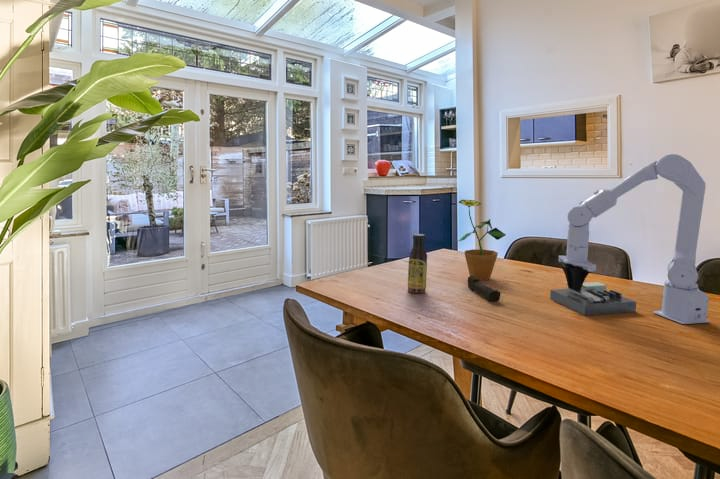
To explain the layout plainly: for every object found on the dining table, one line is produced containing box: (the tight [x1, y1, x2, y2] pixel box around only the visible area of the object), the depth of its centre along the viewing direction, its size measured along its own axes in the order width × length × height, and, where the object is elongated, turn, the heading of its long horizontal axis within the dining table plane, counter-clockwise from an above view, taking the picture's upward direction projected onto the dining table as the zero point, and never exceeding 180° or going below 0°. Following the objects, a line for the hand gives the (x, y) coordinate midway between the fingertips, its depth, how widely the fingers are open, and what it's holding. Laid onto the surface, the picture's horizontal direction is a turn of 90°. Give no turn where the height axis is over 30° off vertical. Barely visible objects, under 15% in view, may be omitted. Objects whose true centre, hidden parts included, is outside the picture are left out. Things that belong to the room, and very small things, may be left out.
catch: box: [582, 281, 607, 292], centre depth 129 cm, size 4×7×2 cm, turn 99°
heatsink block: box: [549, 288, 637, 316], centre depth 124 cm, size 16×16×4 cm
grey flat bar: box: [565, 286, 604, 302], centre depth 123 cm, size 12×3×1 cm, turn 9°
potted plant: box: [457, 199, 507, 281], centre depth 156 cm, size 18×19×30 cm
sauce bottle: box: [407, 233, 428, 294], centre depth 140 cm, size 7×6×20 cm
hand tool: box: [466, 275, 501, 303], centre depth 138 cm, size 19×4×5 cm, turn 8°
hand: (574, 289), depth 127 cm, fingers closed on grey flat bar, 2 cm apart
